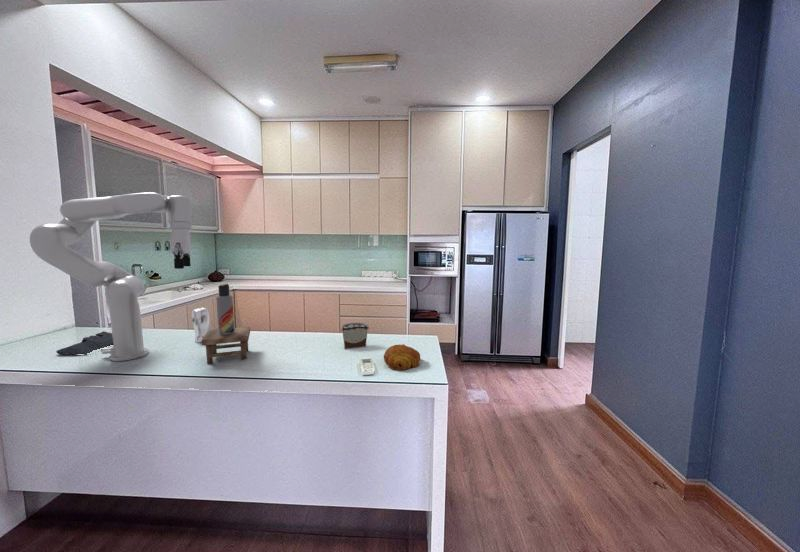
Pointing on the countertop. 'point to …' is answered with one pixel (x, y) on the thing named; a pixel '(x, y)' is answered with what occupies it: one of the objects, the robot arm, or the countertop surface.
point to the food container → (354, 335)
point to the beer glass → (200, 323)
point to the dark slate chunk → (89, 344)
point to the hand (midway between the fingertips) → (182, 267)
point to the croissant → (401, 357)
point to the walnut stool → (215, 338)
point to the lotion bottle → (225, 310)
